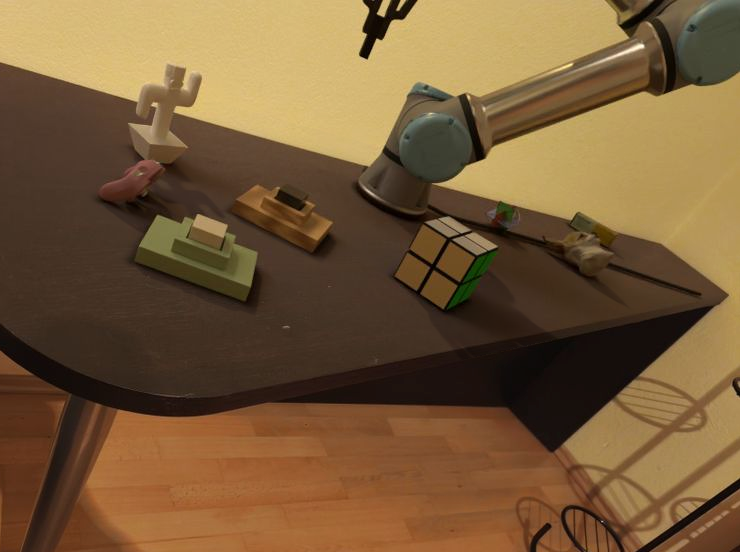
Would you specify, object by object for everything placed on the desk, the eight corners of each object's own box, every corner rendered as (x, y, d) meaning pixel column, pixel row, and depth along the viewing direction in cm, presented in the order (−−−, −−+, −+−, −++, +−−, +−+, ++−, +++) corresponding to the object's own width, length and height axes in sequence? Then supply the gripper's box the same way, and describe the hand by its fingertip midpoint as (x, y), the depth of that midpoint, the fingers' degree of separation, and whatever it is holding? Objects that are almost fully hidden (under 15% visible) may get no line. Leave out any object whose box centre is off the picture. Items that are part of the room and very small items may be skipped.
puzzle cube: (418, 266, 108) (447, 214, 103) (467, 299, 105) (500, 247, 99) (391, 276, 101) (422, 221, 95) (443, 312, 97) (478, 256, 92)
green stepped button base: (252, 266, 86) (263, 240, 84) (244, 302, 78) (256, 274, 75) (153, 229, 84) (161, 202, 82) (134, 261, 76) (142, 232, 74)
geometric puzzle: (500, 230, 137) (527, 204, 137) (476, 213, 140) (502, 188, 140) (502, 246, 143) (527, 222, 143) (479, 230, 147) (504, 206, 146)
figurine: (116, 143, 103) (138, 48, 95) (165, 148, 109) (190, 60, 101) (137, 165, 99) (162, 68, 91) (187, 168, 105) (215, 78, 97)
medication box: (567, 225, 175) (575, 212, 172) (571, 223, 176) (579, 210, 174) (607, 247, 169) (616, 234, 167) (610, 246, 171) (619, 233, 169)
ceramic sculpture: (604, 243, 132) (554, 212, 143) (580, 279, 136) (533, 246, 147) (633, 250, 138) (583, 220, 148) (609, 285, 142) (562, 252, 152)
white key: (223, 239, 81) (228, 225, 80) (218, 252, 78) (223, 237, 76) (193, 227, 80) (197, 213, 79) (187, 240, 77) (192, 225, 76)
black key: (304, 205, 101) (309, 194, 100) (297, 212, 98) (302, 200, 97) (281, 194, 101) (286, 183, 100) (274, 200, 98) (278, 188, 97)
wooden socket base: (327, 234, 105) (337, 212, 103) (312, 253, 97) (322, 230, 95) (252, 196, 106) (261, 174, 104) (231, 212, 98) (239, 188, 96)
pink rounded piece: (118, 220, 86) (152, 187, 83) (94, 194, 85) (126, 160, 81) (145, 198, 94) (176, 168, 91) (122, 174, 93) (153, 142, 90)
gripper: (393, -127, 90) (327, 44, 102) (475, -88, 92) (400, 76, 104) (389, -123, 96) (327, 38, 109) (465, -86, 98) (396, 68, 111)
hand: (363, 56), depth 107 cm, fingers closed
